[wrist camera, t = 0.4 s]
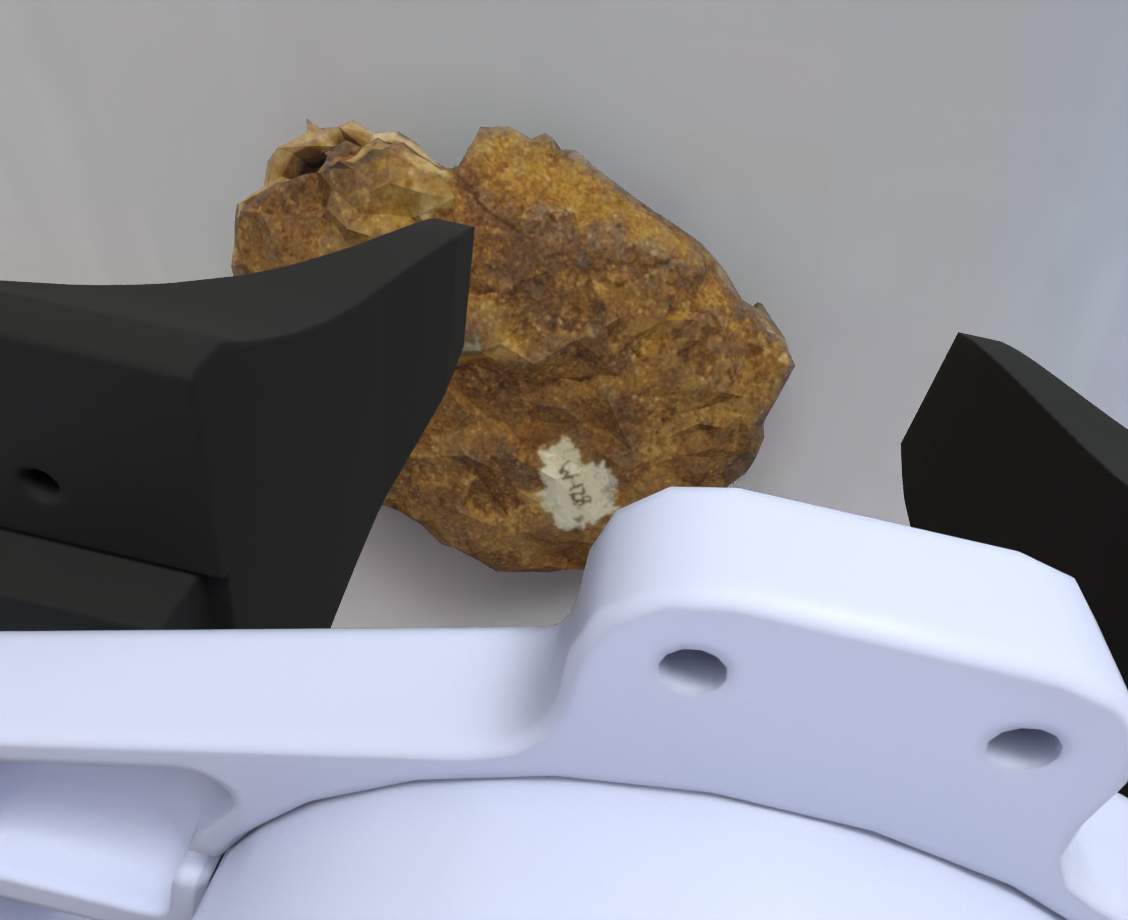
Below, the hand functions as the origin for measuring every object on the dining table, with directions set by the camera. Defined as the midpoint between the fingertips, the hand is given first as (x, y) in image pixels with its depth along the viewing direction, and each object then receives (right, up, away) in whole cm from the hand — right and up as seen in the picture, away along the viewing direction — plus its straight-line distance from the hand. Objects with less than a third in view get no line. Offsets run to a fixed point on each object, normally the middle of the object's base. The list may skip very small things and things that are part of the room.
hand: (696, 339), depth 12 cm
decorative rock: (-4, +2, +12) cm, 13 cm away
